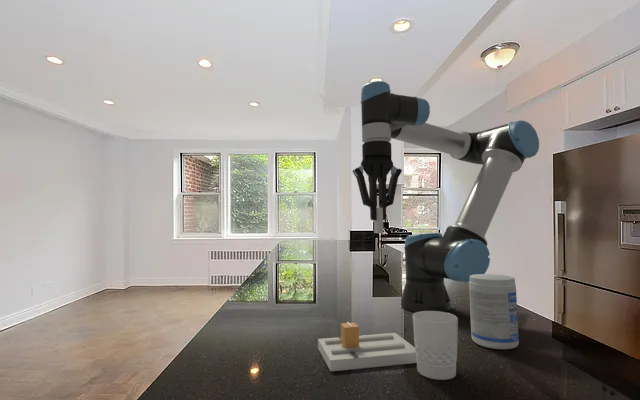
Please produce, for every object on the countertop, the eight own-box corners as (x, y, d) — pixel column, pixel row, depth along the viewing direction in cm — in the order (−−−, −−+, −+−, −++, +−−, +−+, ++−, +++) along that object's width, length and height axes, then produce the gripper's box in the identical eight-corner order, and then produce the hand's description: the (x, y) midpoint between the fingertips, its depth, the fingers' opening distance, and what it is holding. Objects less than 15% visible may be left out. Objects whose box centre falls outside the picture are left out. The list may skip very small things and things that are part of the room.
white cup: (408, 364, 67) (406, 311, 68) (447, 362, 68) (445, 310, 69) (423, 383, 59) (421, 323, 60) (468, 380, 60) (466, 321, 61)
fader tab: (354, 341, 73) (354, 321, 74) (359, 346, 70) (358, 325, 71) (340, 343, 73) (340, 322, 73) (344, 348, 70) (344, 326, 70)
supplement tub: (523, 353, 72) (520, 281, 73) (473, 348, 75) (471, 279, 76) (513, 338, 81) (510, 274, 82) (469, 334, 84) (466, 272, 85)
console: (395, 341, 80) (395, 330, 80) (420, 362, 68) (420, 348, 68) (318, 348, 76) (317, 336, 76) (330, 371, 64) (330, 356, 65)
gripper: (394, 146, 96) (396, 232, 95) (348, 144, 94) (350, 233, 92) (406, 140, 89) (408, 233, 88) (357, 138, 86) (358, 234, 85)
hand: (378, 233), depth 90 cm, fingers closed
